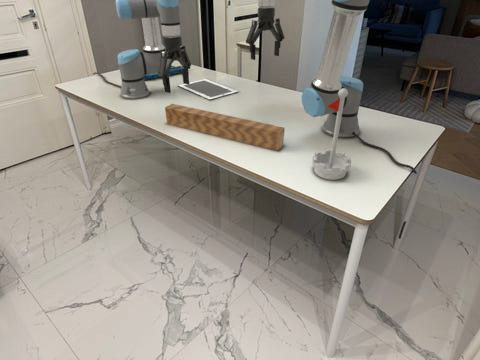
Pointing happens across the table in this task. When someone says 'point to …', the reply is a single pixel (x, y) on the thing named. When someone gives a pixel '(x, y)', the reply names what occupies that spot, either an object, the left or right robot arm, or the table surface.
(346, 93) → the flag stand
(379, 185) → the table surface
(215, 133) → the post
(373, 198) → the table surface
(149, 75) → the submachine gun
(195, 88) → the tablet
